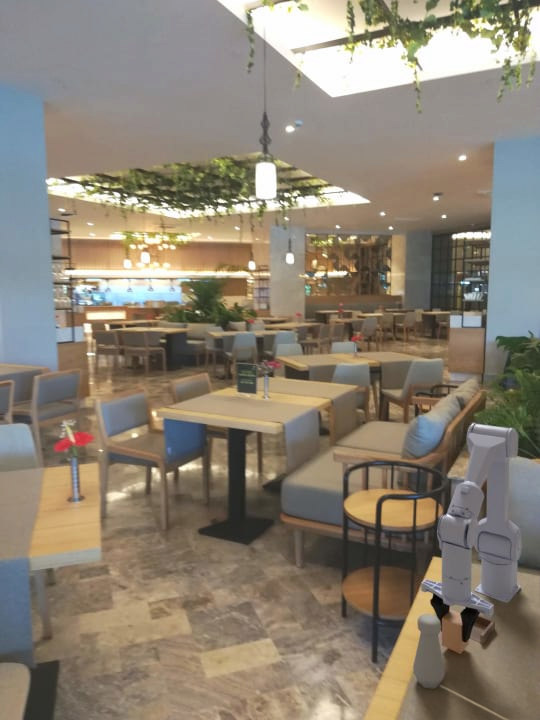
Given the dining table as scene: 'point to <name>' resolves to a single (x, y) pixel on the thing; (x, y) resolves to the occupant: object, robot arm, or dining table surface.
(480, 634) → the box
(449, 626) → the block
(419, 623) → the salt shaker
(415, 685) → the dining table surface
